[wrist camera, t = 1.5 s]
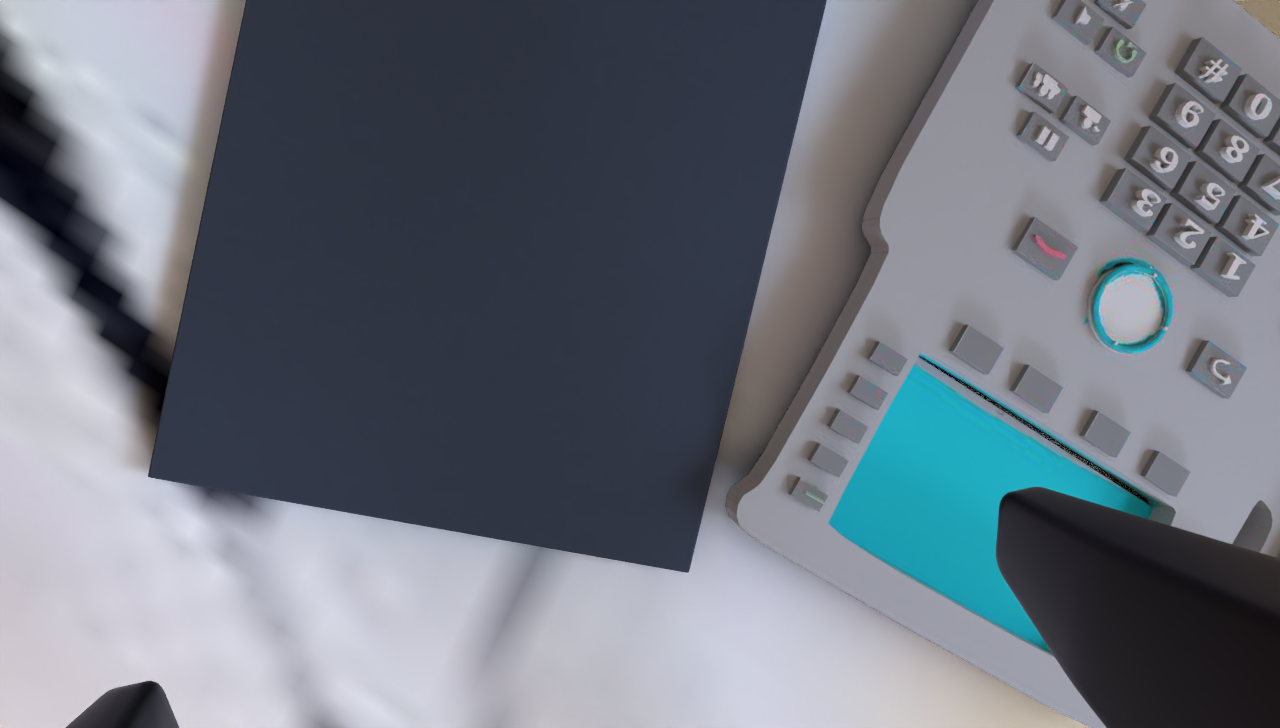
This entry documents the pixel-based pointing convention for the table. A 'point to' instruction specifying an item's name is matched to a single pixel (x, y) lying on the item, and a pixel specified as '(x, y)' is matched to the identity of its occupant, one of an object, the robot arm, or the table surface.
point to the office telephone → (1047, 319)
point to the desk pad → (486, 261)
